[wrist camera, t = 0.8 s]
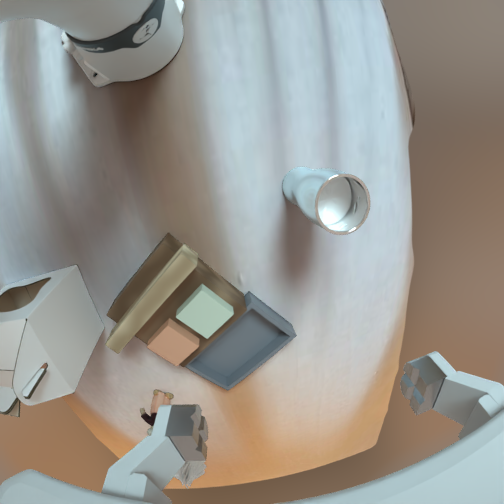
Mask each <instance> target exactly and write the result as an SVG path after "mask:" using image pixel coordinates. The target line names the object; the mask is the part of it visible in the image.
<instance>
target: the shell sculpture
mask: <svg viewBox="0 0 504 504" xmlns="http://www.w3.org/2000/svg"><path fill="white" fill-rule="evenodd" d="M204 462H205V461H185V463H184V464H183V466H182V467H181V468H180V469H179V471H178V472H177V473H176V474H175V476H174V477H175V478H177V479H178V480H180V481H181V483H182V482H183V484H182V486H183V485H184V484H185V486H186V488H187V489H188V487H187V485H188V486H191V485H190V484H192V482H193V480H194V479H196V478H199V477H200V476H201V475H203V474H204V473H205V471H204V469H205V468H206V465H205V464H204ZM186 484H187V485H186Z"/></svg>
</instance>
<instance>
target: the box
mask: <svg viewBox="0 0 504 504" xmlns="http://www.w3.org/2000/svg"><path fill="white" fill-rule="evenodd" d="M244 298H245V302H246V307H247V311H245V312H244V313H243V314H242V315H241V316H240V317H239V318H238V319H237V320H236V321H235V322H234V323H233V324H231V325H230V326H229V327H228V328H227V329H226V330H225V331H224V332H223V333H222V334H220V335H219V336H218V337H217V338H216V339H215V340H214V341H213V342H212V343H211V344H209V345H208V346H207V347H206V348H205V349H204V350H203V351H202V352H200V353H199V354H198V355H197V356H196V357H195V358H194V359H193V360H191V361H190V362H189V363H188V364H187V365H186V366H185V367H186V368H188V369H190V370H191V371H193V372H195V373H196V374H198V375H200V376H202V377H203V378H205V379H207V380H209V381H211V382H213V383H214V384H216V385H218V386H220V387H222V388H224V389H226V390H230V389H231V388H232V387H234V386H235V385H236V384H238V383H239V382H240V381H242V380H243V379H244V378H245V377H247V376H248V375H249V374H251V373H252V372H253V371H254V370H256V369H257V368H258V367H260V366H261V365H262V364H263V363H265V362H266V361H267V360H268V359H269V358H271V357H272V356H273V355H274V354H276V353H277V352H278V351H279V350H280V349H282V348H283V347H284V346H285V345H286V344H288V343H289V342H290V341H291V340H292V339H293V338H295V337H296V336H297V335H296V333H295V331H294V329H293V326H292V324H290V323H289V322H288V321H286V320H285V319H284V318H283V317H281V316H280V315H279V314H277V313H276V312H275V311H274V310H272V309H271V308H270V307H268V306H267V305H266V304H265V303H263V302H262V301H261V300H260V299H258V298H257V297H256V296H255V295H253V294H252V293H251V292H250V291H249V292H248V293H247V294H246V295H245V296H244Z"/></svg>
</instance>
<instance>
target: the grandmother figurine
mask: <svg viewBox="0 0 504 504" xmlns="http://www.w3.org/2000/svg"><path fill="white" fill-rule="evenodd" d="M172 398H173V395H172V394H171V393H166V394H164V393H162V392H161V391H159V390H154V396H153V400H152V404H151V416H149V415H148V414H146V412H145V410H144V408H141V409H140V412H141V417H142V418H143V419H144V420H145V421H146V422H147V423H148V424H150V425H151V426H152V427H151V428H149V429H148V431H147V432H148V435H149V436H151V434H152V430H153V427H154V423H155V419H156V415H157V412H158V408H159V407H160V405H170V399H172Z"/></svg>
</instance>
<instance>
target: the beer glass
mask: <svg viewBox="0 0 504 504" xmlns="http://www.w3.org/2000/svg"><path fill="white" fill-rule="evenodd" d="M283 192H284V195H285V197H286V198H287V200H288V201H290V202H291V203H292V204H295V205H298V206H299V208H300V210H301V211H302V213H303V214H304V215H305V216H306V217H307V218H308V219H309V220H310V221H311V222H313V223H314V224H316V225H317V226H319V227H321V228H323V229H325V230H326V231H328V232H330V233H332V234H336V235H346V234H350V233H352V232H354V231H356V230H357V229H358V228H359V227H360V226H361V225H362V224H363V223H364V222H365V220H366V218H367V216H368V213H369V210H370V195H369V192H368V189H367V187H366V186H365V184H364V183H363V182H362V181H361V180H360V179H359V178H357V177H356V176H354V175H351V174H348V173H345V172H343V171H340V170H336V169H331V168H320V169H314V170H312V169H310V168H308V167H296V168H293V169H292V170H290V171H289V172H288V173H287V174H286V176H285V178H284V180H283Z"/></svg>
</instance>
